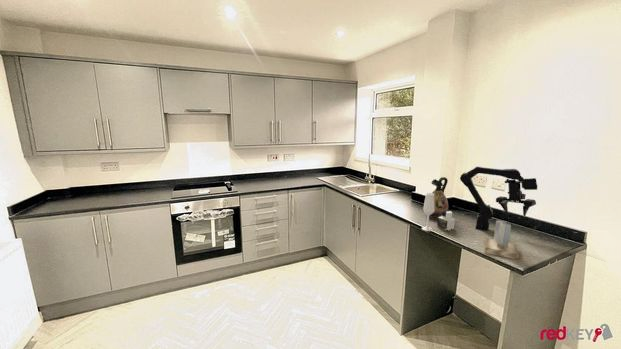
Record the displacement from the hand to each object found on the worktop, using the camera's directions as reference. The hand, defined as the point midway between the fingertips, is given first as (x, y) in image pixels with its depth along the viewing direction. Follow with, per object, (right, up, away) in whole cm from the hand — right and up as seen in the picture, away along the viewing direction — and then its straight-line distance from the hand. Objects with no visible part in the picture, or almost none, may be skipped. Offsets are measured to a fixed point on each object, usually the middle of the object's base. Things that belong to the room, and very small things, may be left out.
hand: (515, 214), depth 157 cm
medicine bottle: (-37, -11, +12) cm, 40 cm away
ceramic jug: (-32, -7, +34) cm, 47 cm away
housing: (-24, -14, -19) cm, 33 cm away
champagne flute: (-50, -11, +11) cm, 52 cm away
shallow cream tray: (-24, -16, -19) cm, 34 cm away
